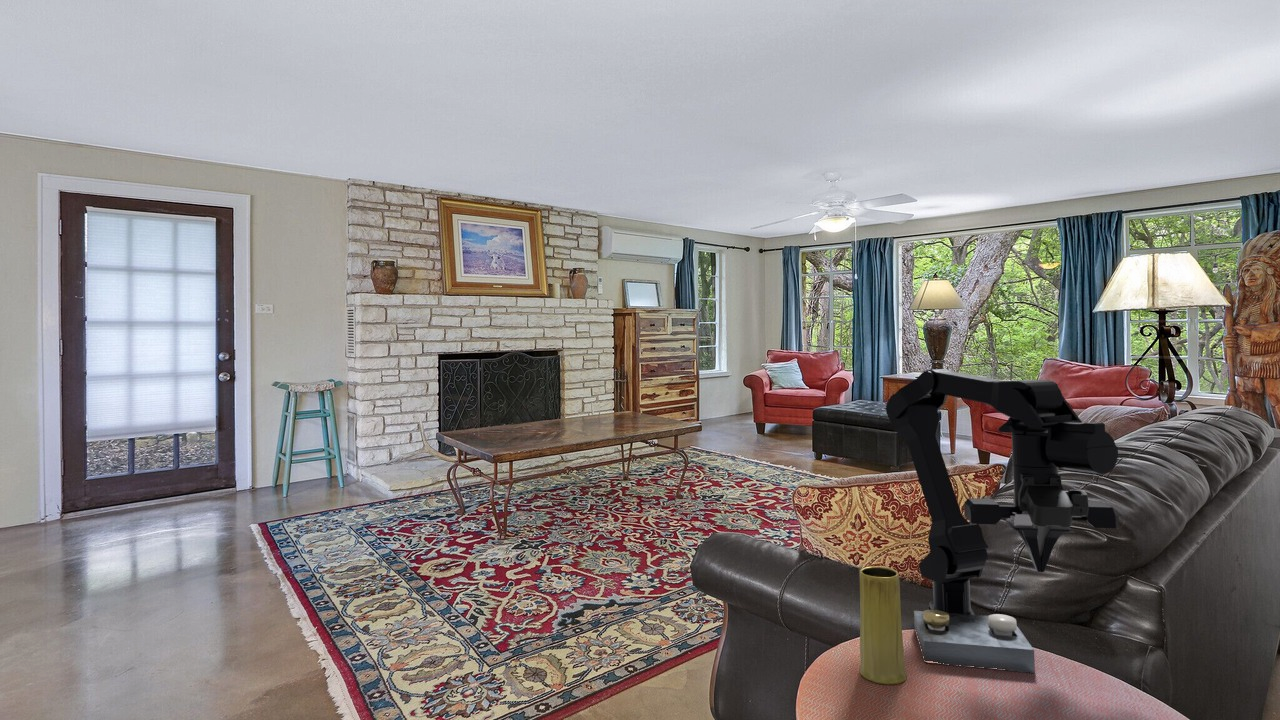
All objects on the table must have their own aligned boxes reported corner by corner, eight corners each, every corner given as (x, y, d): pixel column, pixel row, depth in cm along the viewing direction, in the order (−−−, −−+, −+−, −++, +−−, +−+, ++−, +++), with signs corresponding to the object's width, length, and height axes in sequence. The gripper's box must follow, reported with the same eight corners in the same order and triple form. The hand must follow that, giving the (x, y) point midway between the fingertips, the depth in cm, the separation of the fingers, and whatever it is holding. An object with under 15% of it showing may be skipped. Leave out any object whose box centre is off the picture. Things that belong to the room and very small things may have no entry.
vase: (898, 665, 92) (895, 565, 93) (912, 686, 86) (908, 578, 87) (855, 664, 93) (851, 565, 93) (865, 685, 87) (861, 578, 87)
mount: (914, 630, 104) (913, 610, 104) (1011, 638, 100) (1010, 617, 100) (924, 663, 93) (923, 640, 93) (1035, 673, 89) (1034, 649, 89)
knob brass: (922, 640, 100) (921, 608, 100) (948, 642, 99) (946, 610, 99) (926, 650, 96) (924, 617, 97) (952, 652, 95) (951, 619, 96)
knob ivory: (987, 645, 97) (985, 613, 97) (1014, 648, 96) (1012, 615, 96) (992, 656, 94) (991, 622, 94) (1020, 658, 93) (1019, 624, 93)
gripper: (976, 472, 90) (981, 585, 90) (1133, 474, 85) (1139, 594, 84) (961, 461, 101) (965, 562, 100) (1100, 462, 95) (1105, 568, 95)
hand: (1039, 571), depth 95 cm, fingers closed
